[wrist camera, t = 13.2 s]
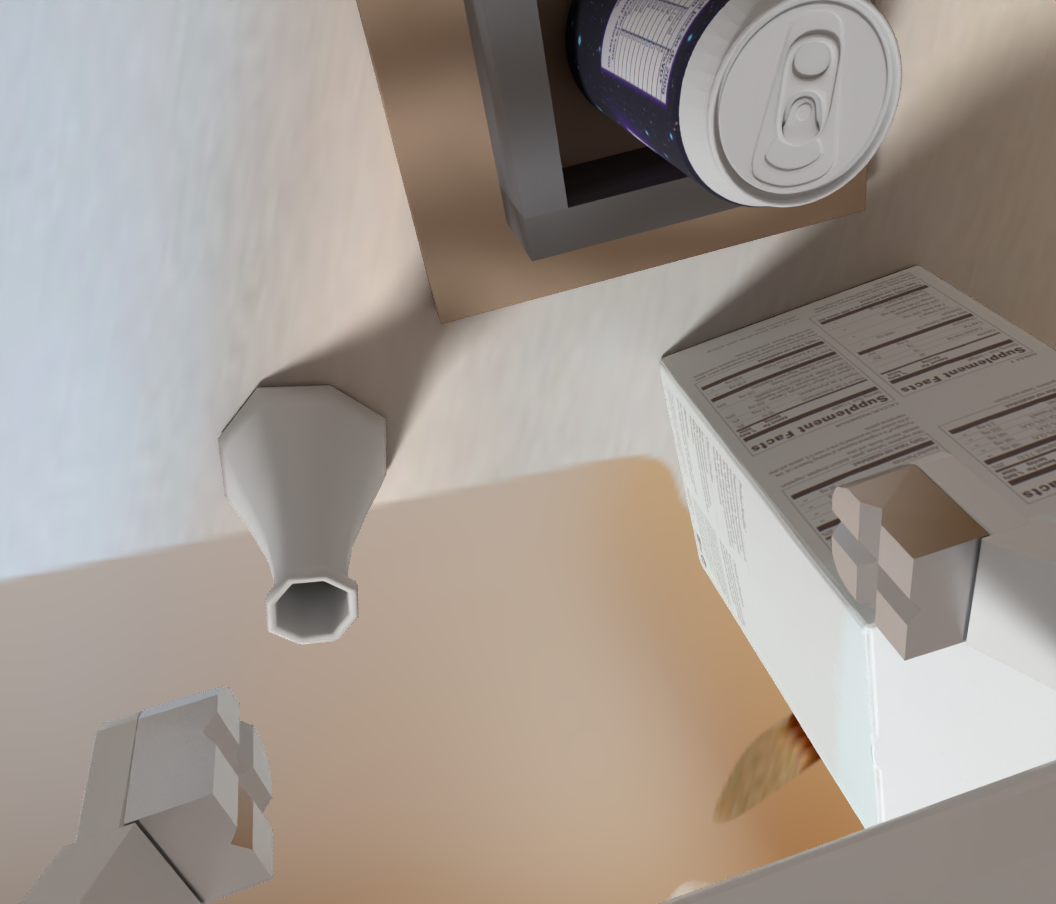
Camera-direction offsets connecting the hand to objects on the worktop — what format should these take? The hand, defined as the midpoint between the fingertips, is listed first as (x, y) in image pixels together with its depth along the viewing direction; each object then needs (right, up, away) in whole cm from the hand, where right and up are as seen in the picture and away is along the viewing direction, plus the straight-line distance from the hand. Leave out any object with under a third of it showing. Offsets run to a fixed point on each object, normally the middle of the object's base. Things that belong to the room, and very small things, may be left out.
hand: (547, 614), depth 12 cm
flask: (-10, +2, +27) cm, 29 cm away
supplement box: (+13, +4, +33) cm, 35 cm away
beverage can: (+4, +17, +19) cm, 26 cm away
